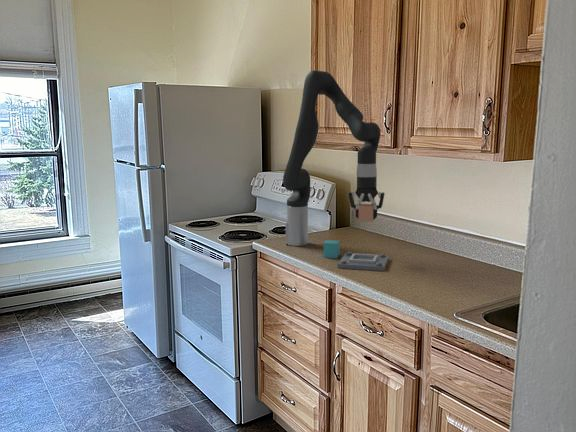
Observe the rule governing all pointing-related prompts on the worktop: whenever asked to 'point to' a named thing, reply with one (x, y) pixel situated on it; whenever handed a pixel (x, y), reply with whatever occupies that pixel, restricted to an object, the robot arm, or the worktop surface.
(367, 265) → the plate
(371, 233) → the worktop surface
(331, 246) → the teal block
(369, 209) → the terracotta block
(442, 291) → the worktop surface
